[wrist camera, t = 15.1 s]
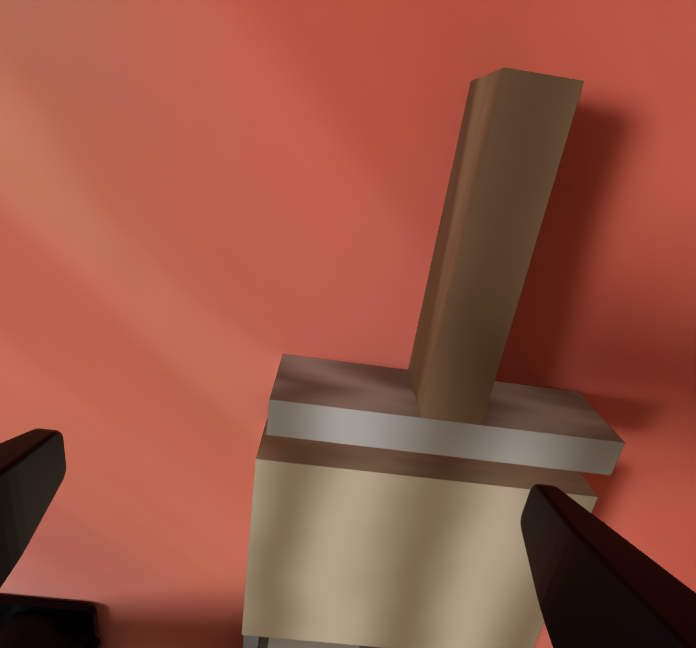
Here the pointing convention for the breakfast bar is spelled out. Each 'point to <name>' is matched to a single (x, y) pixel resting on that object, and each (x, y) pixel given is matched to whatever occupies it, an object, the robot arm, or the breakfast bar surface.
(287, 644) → the tile
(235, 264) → the breakfast bar surface
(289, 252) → the breakfast bar surface
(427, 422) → the scraper
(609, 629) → the robot arm
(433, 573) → the deck
